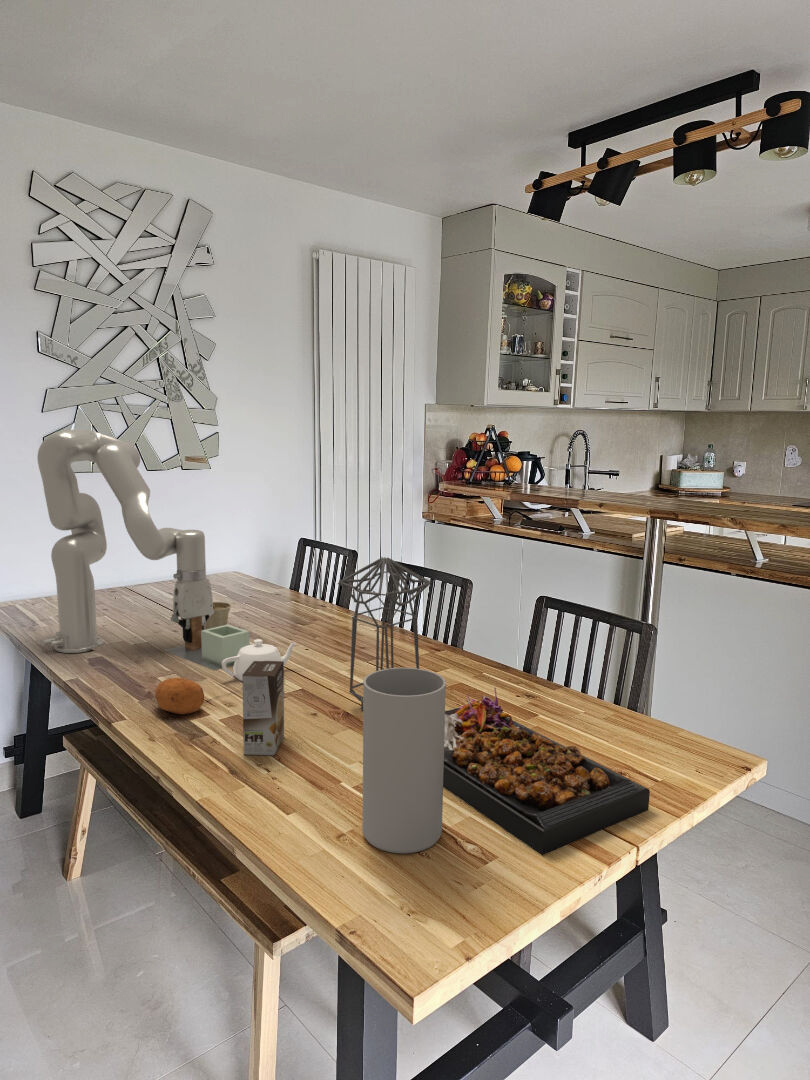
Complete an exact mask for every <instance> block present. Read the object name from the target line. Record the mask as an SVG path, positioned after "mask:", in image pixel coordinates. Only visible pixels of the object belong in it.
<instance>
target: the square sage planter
mask: <svg viewBox="0 0 810 1080" xmlns="http://www.w3.org/2000/svg"><path fill="white" fill-rule="evenodd" d="M250 641H251V639H250V631H249V630H247V629H244V628H243V629H242V628H240V627H237V626H234V625H231V624H227V625H224V626H219V627H215V628H211V629H206V630H202V631H201V642H202V659H203V660H205V661H208V662H210V663H213V664H215V665H218V666H220V667H222V661H223V660H224V659H226V658H230V657H234V656H237V654H238V652H239V651H240V649H241V648H242V647H244V646H247V645H251V643H250ZM234 663H235V661H230V662H227V663H226V667H227V666H229V667H231V666H230V665H232V666H234ZM227 668H228V667H227Z"/></svg>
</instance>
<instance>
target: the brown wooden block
mask: <svg viewBox="0 0 810 1080" xmlns="http://www.w3.org/2000/svg"><path fill="white" fill-rule="evenodd" d="M190 628H191V630H192V642H191V643H188V642H185V641H184V645H185V647H186V648H189V649H191V650H196V649H200V648H202V642H201V631H202V616H200V617H195V618H190Z"/></svg>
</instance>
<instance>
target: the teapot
mask: <svg viewBox="0 0 810 1080" xmlns="http://www.w3.org/2000/svg"><path fill="white" fill-rule="evenodd" d="M253 642H254V644H250V645H247V646H244V647H242V648H241V649H240V651H239V652H238V654H237V656H234V657H230V658H226V659H224V660H223V661H222V671H224V672H225V674H227V675H229V676H230V677H234V678H236V679H237V680H238V681H240V682H243V677H242V675H243V673H244V672H245V671H246V670H247V669H248V668H249V666H250V665H251V664H252V663H253V661H283V662H284V666H285V665H286V664H287V663H288V661H289V659H290V657H291V654H292V652H293V649H294V647H295V646H296V645H297V643H296V642H290V644H289V646H288V648H287V650H286V652H285V654H284V655H283V656H281V653H280V652H279V649H278V648H277V647H276V646H275V645H272V644H268V643H263V639H260V638H256V639H254V640H253ZM230 661H235V663H234V665H232V667H233V668H232V670H230V669H228V667H226V663H227V662H230ZM232 671H233V672H232Z"/></svg>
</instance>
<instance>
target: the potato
mask: <svg viewBox="0 0 810 1080" xmlns="http://www.w3.org/2000/svg"><path fill="white" fill-rule="evenodd" d="M154 696H155V697H154V698H155V700H156V702H157V704H158V706H159V708H160V709H161V710H163V711H167V712H169V713H173V714H178V715H186V714H192V713H194V712H197V711H199V710H200V709H201V707H202V706H203V704H204V703H205V693H204V690H203V688H202V686H201V685H200V684H199V683H197V682H196V681H194V680H191V679H187V678H184V677H173V678H172V677H171V678H167V679H164V680H162V681H161V682H160V683H159V684H157V686H156V687H155V689H154Z"/></svg>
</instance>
